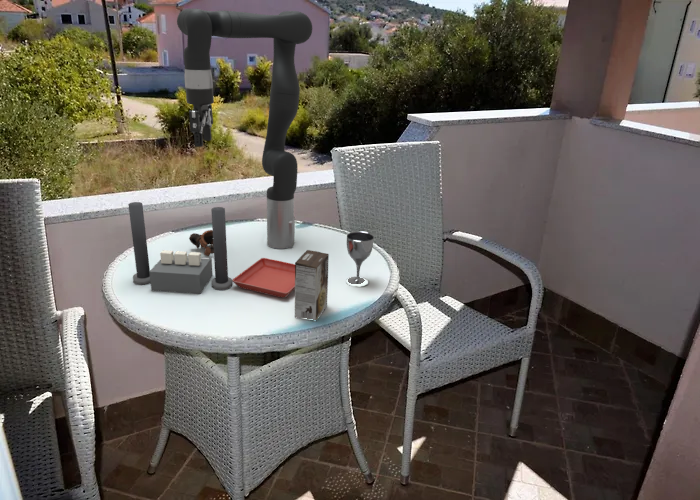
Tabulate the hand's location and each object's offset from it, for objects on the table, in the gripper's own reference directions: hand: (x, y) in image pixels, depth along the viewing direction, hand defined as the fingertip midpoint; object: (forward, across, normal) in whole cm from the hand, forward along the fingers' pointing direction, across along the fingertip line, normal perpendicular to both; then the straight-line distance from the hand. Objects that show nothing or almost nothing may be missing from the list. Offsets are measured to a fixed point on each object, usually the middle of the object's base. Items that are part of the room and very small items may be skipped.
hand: (203, 143), depth 153 cm
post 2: (+38, -18, -8) cm, 42 cm away
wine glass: (+38, -10, -48) cm, 62 cm away
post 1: (+37, -18, +15) cm, 44 cm away
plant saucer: (+38, -14, -22) cm, 47 cm away
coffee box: (+38, -30, -35) cm, 60 cm away
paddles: (+31, -18, +4) cm, 36 cm away
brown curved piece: (+38, +6, +3) cm, 39 cm away
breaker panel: (+37, -18, +4) cm, 42 cm away
